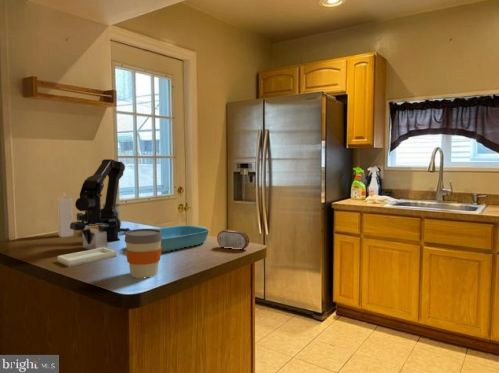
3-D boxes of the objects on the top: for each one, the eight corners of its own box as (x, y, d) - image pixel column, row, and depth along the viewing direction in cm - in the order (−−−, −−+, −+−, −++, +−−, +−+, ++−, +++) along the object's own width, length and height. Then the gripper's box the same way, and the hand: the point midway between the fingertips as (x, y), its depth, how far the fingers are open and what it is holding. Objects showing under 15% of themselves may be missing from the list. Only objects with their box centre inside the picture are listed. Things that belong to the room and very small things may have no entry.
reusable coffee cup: (138, 267, 140) (138, 227, 139) (169, 270, 137) (168, 229, 135) (117, 278, 128) (116, 234, 127) (150, 281, 125) (149, 237, 123)
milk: (60, 237, 189) (58, 193, 187) (58, 235, 194) (56, 192, 192) (73, 236, 193) (72, 192, 191) (71, 233, 198) (69, 191, 196)
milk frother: (105, 229, 209) (104, 203, 208) (134, 229, 211) (134, 203, 209) (97, 235, 195) (97, 206, 194) (129, 235, 197) (128, 206, 195)
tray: (104, 252, 161) (103, 247, 161) (116, 256, 155) (116, 251, 155) (57, 261, 147) (57, 256, 147) (69, 266, 141) (69, 260, 140)
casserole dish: (188, 236, 196) (188, 222, 196) (218, 243, 181) (218, 228, 181) (123, 248, 169) (122, 233, 168) (151, 258, 154) (151, 241, 153)
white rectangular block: (93, 245, 173) (93, 228, 173) (107, 249, 166) (106, 231, 165) (82, 247, 170) (82, 229, 169) (96, 252, 162) (95, 233, 161)
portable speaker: (249, 250, 168) (249, 231, 167) (246, 251, 165) (246, 232, 164) (219, 246, 174) (219, 228, 173) (216, 247, 171) (216, 229, 170)
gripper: (104, 204, 178) (105, 237, 180) (63, 208, 164) (64, 243, 166) (116, 206, 171) (117, 240, 172) (75, 210, 157) (76, 247, 158)
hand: (94, 243), depth 167 cm, fingers closed on white rectangular block, 5 cm apart
